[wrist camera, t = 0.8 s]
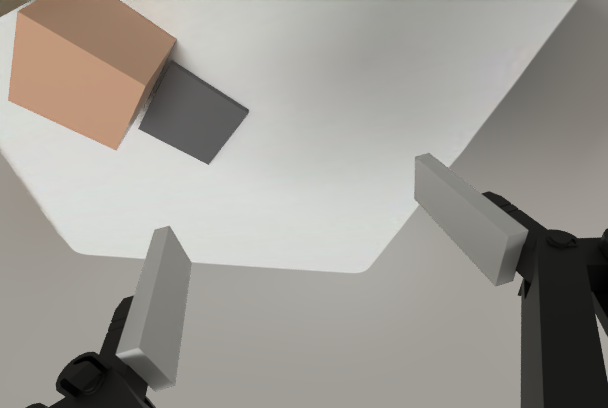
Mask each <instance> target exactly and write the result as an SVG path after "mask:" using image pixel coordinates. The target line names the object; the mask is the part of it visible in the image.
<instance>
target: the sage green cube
mask: <svg viewBox="0 0 608 408" xmlns="http://www.w3.org/2000/svg"><path fill="white" fill-rule="evenodd" d="M28 1H30V0H0V17H1V16H3V15H5V14H7V13H9V12H10V11H12V10H14V9H16V8H18V7H19V6H21V5H23V4H25V3H27V2H28Z"/></svg>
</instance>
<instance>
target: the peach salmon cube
mask: <svg viewBox="0 0 608 408" xmlns="http://www.w3.org/2000/svg"><path fill="white" fill-rule="evenodd" d="M175 41H176V39H175V38H174V37H173V36H171V35H170V34H168V33H167V32H165V31H164V30H162V29H161V28H159V27H158V26H156V25H155V24H154V23H152V22H151V21H149V20H148V19H146V18H145V17H143V16H142V15H140V14H139V13H138V12H136V11H135V10H133V9H132V8H130V7H129V6H127V5H126V4H124V3H123V2H121V1H120V0H37V1H35V2H33V3H32V4H30V5H28V6H26V7H25V8H23V9H21V10H19V11H18V13H17V22H16V32H15V41H14V50H13V60H12V69H11V79H10V88H9V97H8V100H9V101H11V102H13V103H15V104H17V105H19V106H21V107H24V108H26V109H28V110H30V111H32V112H34V113H37V114H39V115H41V116H43V117H45V118H47V119H50V120H52V121H54V122H56V123H58V124H60V125H62V126H65V127H67V128H69V129H71V130H73V131H75V132H78V133H80V134H82V135H84V136H86V137H88V138H91V139H93V140H95V141H97V142H99V143H101V144H103V145H106V146H108V147H110V148H112V149H114V150H117V149H118V147H119V145H120V144H121V142H122V141H123V139H124V137H125V136H126V134H127V132H128V131H129V129H130V128H131V126H132V124H133V123H134V121H135V119H136V118H137V116H138V114H139V113H140V111H141V110H142V108H143V106H144V105H145V103H146V101H147V100H148V98H149V96H150V94H151V92H152V90H153V87H154V85H155V83H156V81H157V79H158V77H159V75H160V73H161V71H162V68H163V66H164V64H165V62H166V60H167V58H168V56H169V54H170V52H171V50H172V47H173V45H174V43H175Z"/></svg>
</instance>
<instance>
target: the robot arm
mask: <svg viewBox="0 0 608 408" xmlns="http://www.w3.org/2000/svg"><path fill="white" fill-rule="evenodd" d="M414 199H415V200H416V201H417V202H418V203H419V204H420V205H421V207H422V208H423V209H424V210H425V211H426V212H427V213H428V214H429V215H430V216H431V217H432V218H433V220H434V221H435V222H436V223H437V224H438V225H439V226H440V227H441V228H442V229H443V230H444V231H445V232H446V234H447V235H448V236H449V237H450V238H451V239H452V240H453V241H454V242H455V243H456V244H457V246H459V248H460V249H461V250H462V251H463V252H464V253H465V254H466V255H467V256H468V257H469V259H470V260H471V261H472V262H473V263H474V264H475V265H476V266H477V267H478V268H479V269H480V270H481V272H482V273H483V274H484V275H485V276H486V277H487V278H488V279H489V280H490V281H491V282H492V283H493V285H494V286H498V285H502V284H505V283H508V282H511V281H513V279H514V276H515V272H516V271H517V272H518V273H519V274H520V275H521V276H522V277H523V281H522V284H521V287H520V290H519V293H518V295H519V296H521V295H522V305H521V317H522V318H521V408H608V381H607V376H606V370H605V365H604V359H603V354H602V349H601V343H600V338H599V332H598V327H597V321H596V316H595V314H596V315H597V317H598V319H599V321H600V323H601V325H602V327H603V329H604V331H605V333H606V334H607V336H608V229H606V230H605V232H604V233H603V235H602V237H601V238H576V237H575V236H574V235H572V234H570V233H567V232H565V231H561V230H547V229H546V228H545V227H543V226H542V225H540V224H539V223H538V222H536V221H535V220H533V219H532V218H531V217H529V216H528V215H527V214H525V213H524V212H523V211H521V210H518V208H517V207H516V206H514V205H513V204H512V205H511V203H510V202H509V201H507V200H506V199H505V198H503V197H502V196H499V195H497V194H494V193H492V192H485V193H482V194H481V193H480V192H478V191H477V190H476V189H474V188H473V187H472V186H471V185H469V184H468V183H467V182H465V181H464V180H463V179H462V178H460V177H459V176H458V175H457V174H455V173H454V172H453V171H451V170H450V169H449V168H448V167H446V166H445V165H444V164H442V163H441V162H440V161H439V160H437V159H436V158H435V157H433V156H432V155H431V154H430V153H427V154H423V155H420V156H416V157H415V192H414ZM191 264H192V263H191V261H190V259H189V258H188V256H187V254H186V253H185V251H184V249H183V248H182V246H181V244H180V242H179V241H178V239H177V237H176V236H175V234H174V232H173V231H172V229H171V227H170V226H167V227H163V228H160V229H156V230H154V233H153V236H152V240H151V243H150V246H149V249H148V252H147V256H146V259H145V262H144V266H143V268H142V272H141V275H140V278H139V281H138V285H137V288H136V291H135V294H134V296H131V297H127V298H124V299H123V300H122V301H121V303H120V304H119V306H118V307H117V308H116V310H115V312H114V315H113V318H112V320H111V322H112V323H111V324H110V326H109V329H108V333H107V334H106V337H105V340H104V343H103V346H102V349H101V351H100V354H99V355H98V354H97V353H95V352H87V353H84V354H82V355H79V356H78V357H76V358H75V359H73V360H72V361H71V362H70V363H69V364H68V365H67V366H66V367H65V368H64V369H63V371H62V372H61V373H60V375H59V376H58V379H57V382H56V390H57V391H58V392H59V393H61V394H62V395H64V396H65V398H63V399H62V400H60V401H58V402H57V403H55V404H53V405H52V406H50V407H47V406H45V405H43V404H41V403H36V404H32V405H30V406H28V407H26V408H156V407H155V406H154V405H153V404H152V402H151V401H150V400H149V399H148V398H147V397H146V391H147V387H148V386H150V387H151V388H152V389H153V390H154V391H155V392H156V391H159V390H162V389H166V388H169V387H172V386H175V382H176V375H177V367H178V360H179V353H180V346H181V338H182V331H183V323H184V316H185V309H186V301H187V294H188V286H189V278H190V271H191Z"/></svg>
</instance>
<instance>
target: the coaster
mask: <svg viewBox="0 0 608 408" xmlns="http://www.w3.org/2000/svg"><path fill="white" fill-rule="evenodd" d="M247 114H248V109H246V108H245V107H243V106H242V105H240V104H239V103H237V102H236V101H234V100H232V99H231V98H229V97H228V96H226V95H225V94H223V93H222V92H220V91H219V90H217V89H215V88H214V87H212V86H211V85H209V84H208V83H206V82H205V81H203V80H201V79H200V78H198V77H197V76H195V75H194V74H192V73H191V72H189V71H188V70H186V69H184V68H183V67H181V66H180V65H178V64H177V63H175V62H174V61H171V63H170V65H169V67H168V69H167V71H166V73H165V75H164V77H163V79H162V81H161V83H160V85H159V87H158V89H157V91H156V94H155V96H154V98H153V100H152V102H151V104H150V106H149V108H148V110H147V112H146V114H145V116H144V118H143V120H142V122H141V124H140V126H139V128H138V129H140V130H142V131H144V132H146V133H148V134H150V135H152V136H153V137H155V138H157V139H159V140H161V141H163V142H165V143H167V144H169V145H171V146H173V147H175V148H177V149H179V150H181V151H183V152H185V153H187V154H189V155H191V156H193V157H195V158H196V159H198V160H200V161H202V162H204V163H206V164H208V165H209V163H210V162H211V161H212V159H213V158H214V157H215V156H216V154H217V153H218V152H219V150H220V149H221V148H222V146H223V145H224V144H225V143H226V141H227V140H228V139H229V137H230V136H231V135H232V133H233V132H234V131H235V130H236V128H237V127H238V126H239V124H240V123H241V122H242V120H243V119H244V118H245V117H246V115H247Z"/></svg>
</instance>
